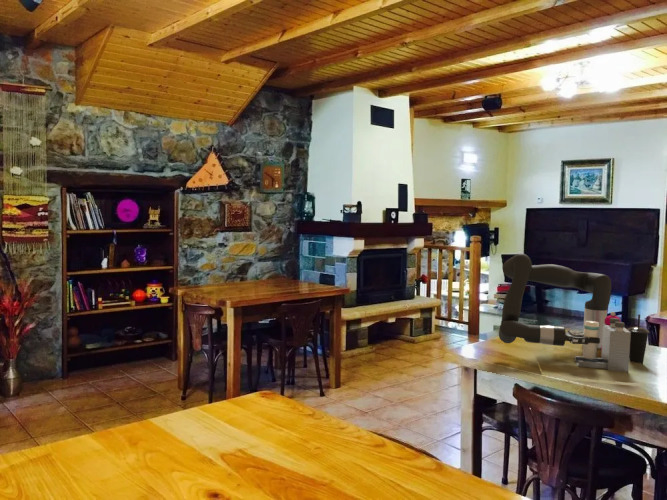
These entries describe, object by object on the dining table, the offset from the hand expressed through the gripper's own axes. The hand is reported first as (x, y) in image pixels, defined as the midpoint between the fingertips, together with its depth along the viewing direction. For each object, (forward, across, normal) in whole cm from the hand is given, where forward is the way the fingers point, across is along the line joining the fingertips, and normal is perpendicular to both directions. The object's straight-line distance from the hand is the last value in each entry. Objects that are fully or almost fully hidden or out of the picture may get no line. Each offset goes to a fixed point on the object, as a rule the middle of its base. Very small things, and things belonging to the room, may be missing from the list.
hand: (597, 339), depth 217 cm
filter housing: (+1, 0, +11) cm, 11 cm away
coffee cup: (-3, 0, +8) cm, 8 cm away
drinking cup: (+17, +13, +12) cm, 25 cm away
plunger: (+6, +4, -1) cm, 8 cm away
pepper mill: (+8, +16, +12) cm, 21 cm away
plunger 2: (+6, -4, -1) cm, 8 cm away
